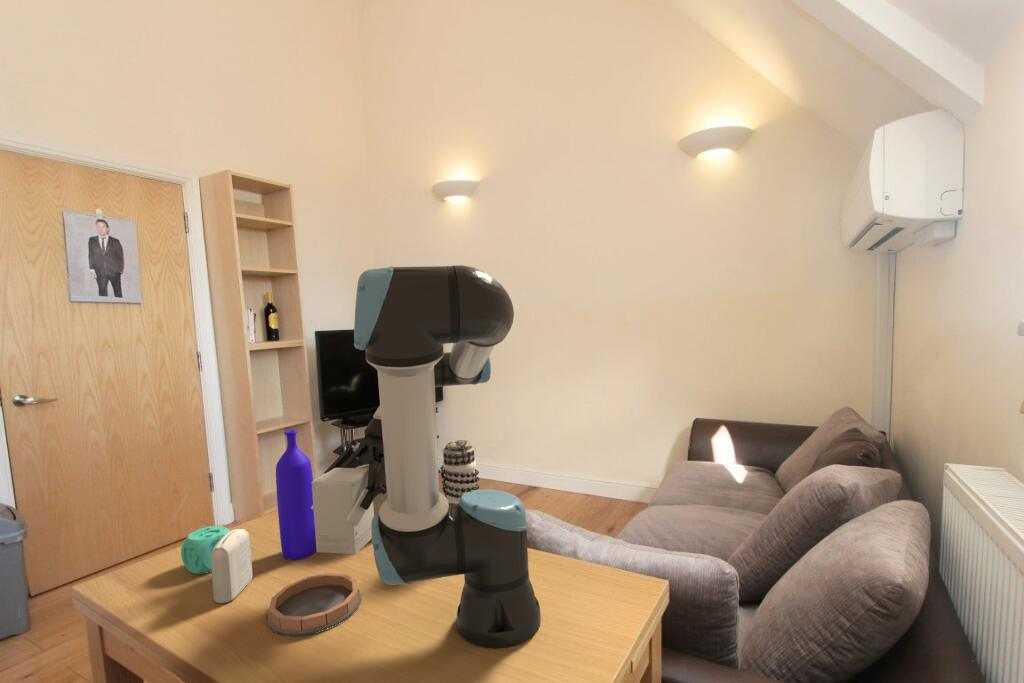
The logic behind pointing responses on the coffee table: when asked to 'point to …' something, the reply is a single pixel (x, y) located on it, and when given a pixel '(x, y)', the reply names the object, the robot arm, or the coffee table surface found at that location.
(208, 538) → the mint green rounded piece
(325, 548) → the supplement box
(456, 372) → the robot arm
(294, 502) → the bottle
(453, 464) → the decorative candle
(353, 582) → the ringed saucer
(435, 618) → the coffee table surface
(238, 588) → the photo printer
